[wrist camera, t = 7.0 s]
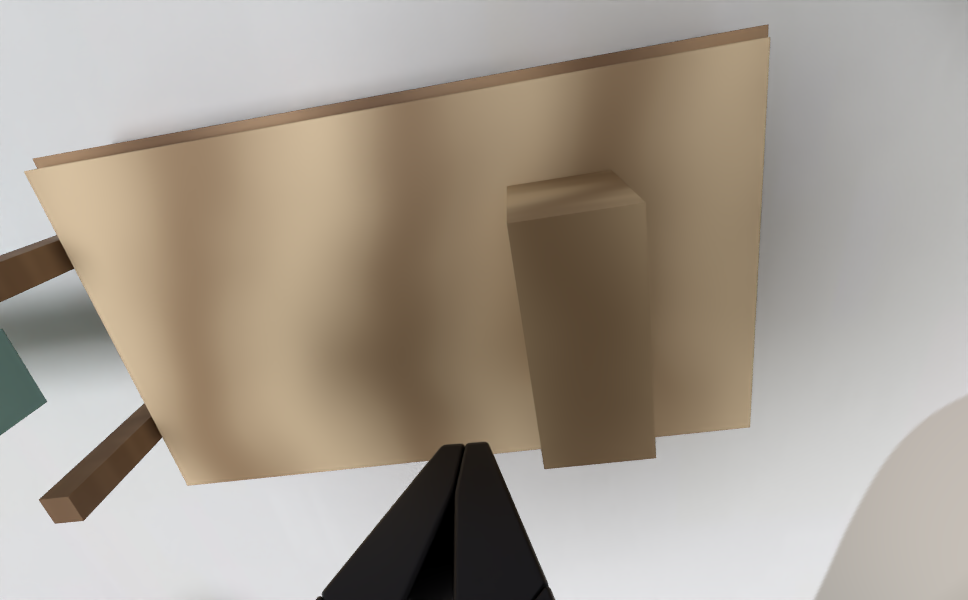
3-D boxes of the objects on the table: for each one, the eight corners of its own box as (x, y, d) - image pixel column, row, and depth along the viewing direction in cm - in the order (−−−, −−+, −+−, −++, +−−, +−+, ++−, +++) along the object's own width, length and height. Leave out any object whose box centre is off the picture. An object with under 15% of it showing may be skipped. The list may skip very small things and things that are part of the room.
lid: (740, 40, 15) (872, 24, 9) (729, 397, 20) (811, 517, 14) (70, 161, 17) (-129, 202, 12) (211, 454, 22) (117, 576, 17)
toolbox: (718, 33, 17) (881, 4, 10) (713, 368, 22) (816, 516, 15) (87, 148, 19) (-170, 195, 12) (216, 426, 24) (92, 577, 17)
